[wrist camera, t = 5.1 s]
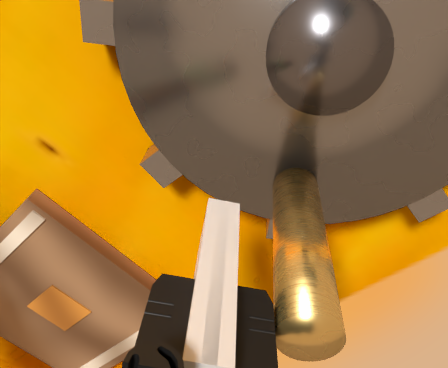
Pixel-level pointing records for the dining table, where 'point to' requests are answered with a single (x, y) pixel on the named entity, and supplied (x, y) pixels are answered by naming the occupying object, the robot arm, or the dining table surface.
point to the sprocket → (291, 122)
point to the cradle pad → (67, 289)
